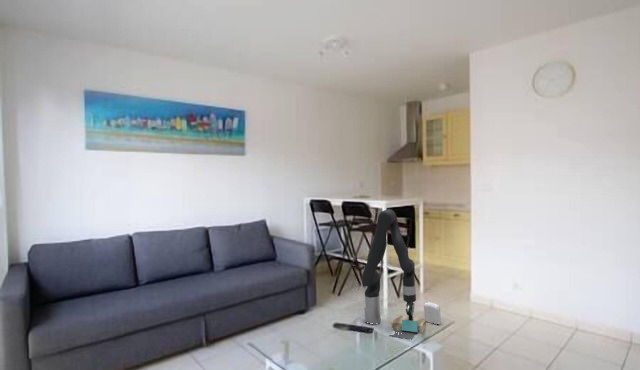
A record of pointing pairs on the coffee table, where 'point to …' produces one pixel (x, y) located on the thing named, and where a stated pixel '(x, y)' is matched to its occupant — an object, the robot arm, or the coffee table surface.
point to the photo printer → (432, 313)
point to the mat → (403, 334)
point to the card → (410, 325)
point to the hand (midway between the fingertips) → (411, 321)
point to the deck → (398, 319)
